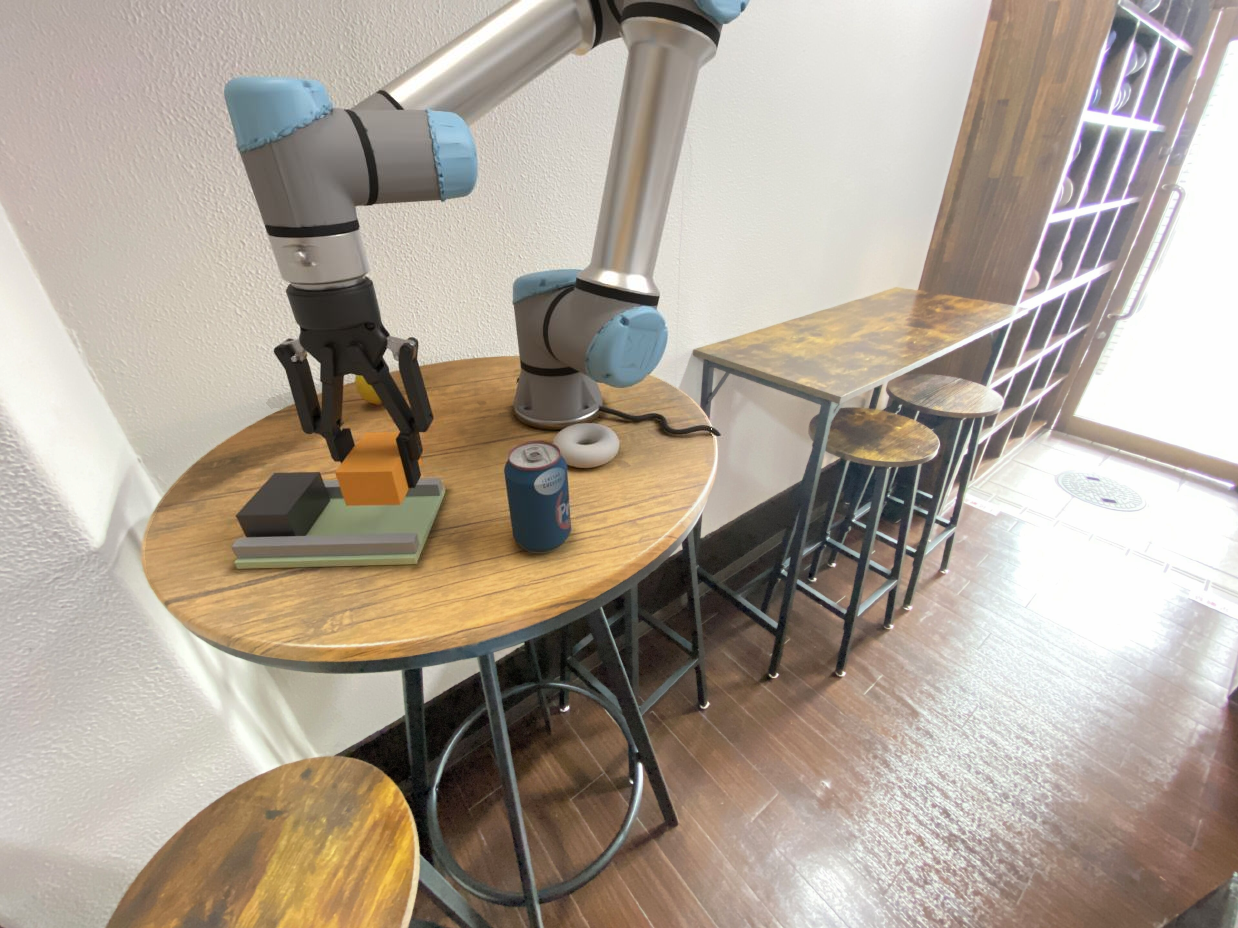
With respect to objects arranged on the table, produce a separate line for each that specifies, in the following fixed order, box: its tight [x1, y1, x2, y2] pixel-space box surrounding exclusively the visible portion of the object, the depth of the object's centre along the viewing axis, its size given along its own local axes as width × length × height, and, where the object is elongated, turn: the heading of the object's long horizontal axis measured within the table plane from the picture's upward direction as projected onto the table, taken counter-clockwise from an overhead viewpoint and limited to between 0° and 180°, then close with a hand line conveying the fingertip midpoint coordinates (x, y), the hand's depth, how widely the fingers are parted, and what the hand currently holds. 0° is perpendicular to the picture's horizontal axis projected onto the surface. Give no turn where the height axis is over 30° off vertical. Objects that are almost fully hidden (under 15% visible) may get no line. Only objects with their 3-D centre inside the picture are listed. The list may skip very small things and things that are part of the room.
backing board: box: [230, 471, 446, 570], centre depth 65 cm, size 20×14×6 cm
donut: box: [552, 422, 621, 469], centre depth 80 cm, size 10×4×10 cm
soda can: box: [503, 440, 572, 555], centre depth 61 cm, size 7×7×12 cm
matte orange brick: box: [334, 431, 423, 506], centre depth 62 cm, size 6×9×4 cm
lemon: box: [354, 375, 383, 406], centre depth 92 cm, size 6×6×8 cm
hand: (385, 481), depth 63 cm, fingers closed on matte orange brick, 6 cm apart
